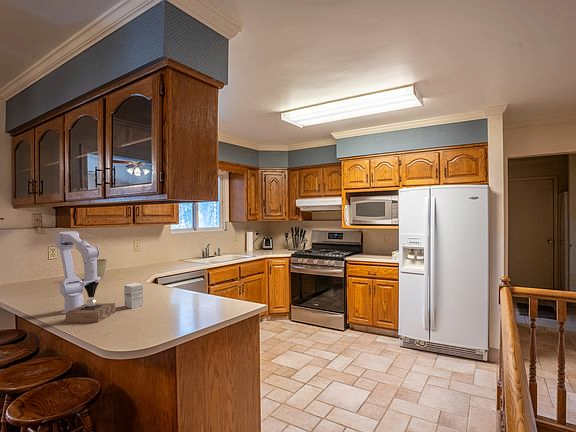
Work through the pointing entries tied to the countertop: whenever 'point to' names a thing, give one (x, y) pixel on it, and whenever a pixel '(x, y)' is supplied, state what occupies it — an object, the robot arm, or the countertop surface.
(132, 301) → the supplement box
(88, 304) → the steel peg
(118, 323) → the countertop surface
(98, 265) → the plant pot
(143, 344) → the countertop surface
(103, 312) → the walnut block
